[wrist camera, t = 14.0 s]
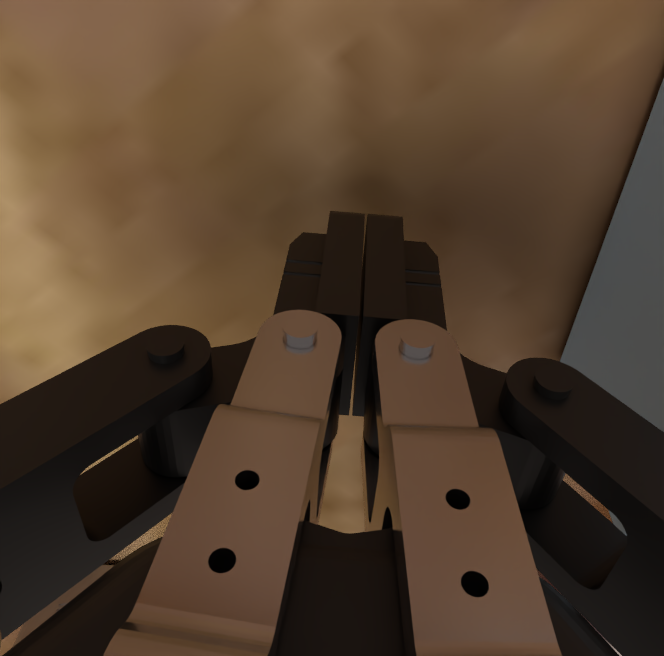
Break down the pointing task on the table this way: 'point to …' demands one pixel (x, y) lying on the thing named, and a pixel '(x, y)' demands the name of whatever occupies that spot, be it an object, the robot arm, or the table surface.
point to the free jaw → (629, 291)
